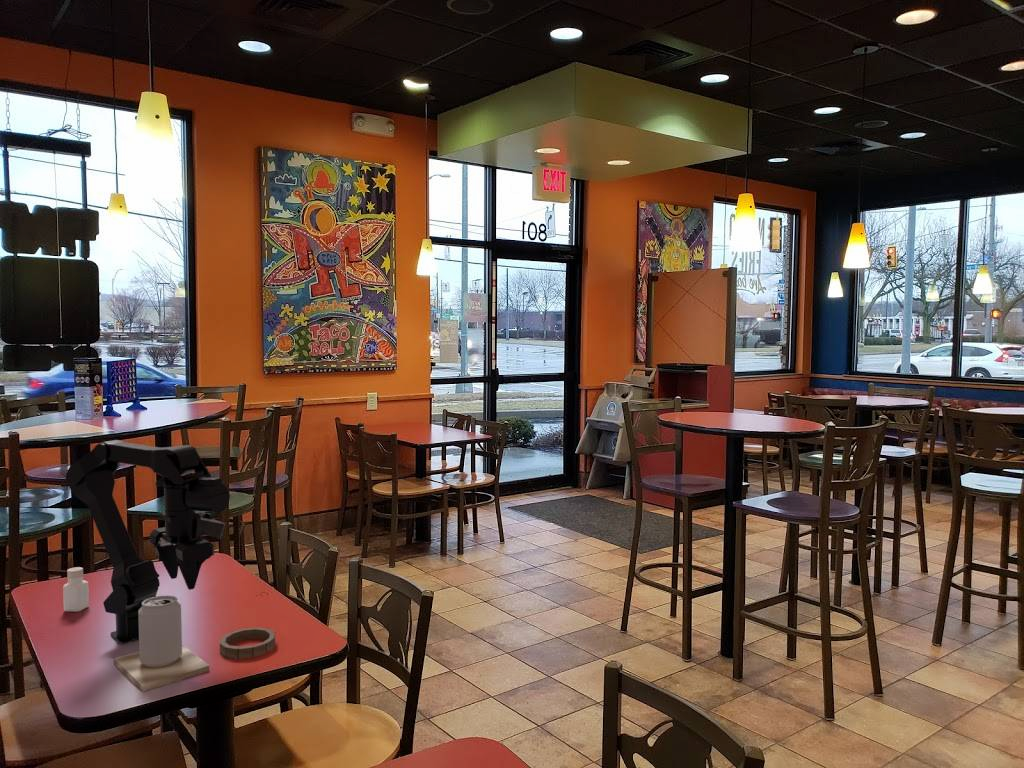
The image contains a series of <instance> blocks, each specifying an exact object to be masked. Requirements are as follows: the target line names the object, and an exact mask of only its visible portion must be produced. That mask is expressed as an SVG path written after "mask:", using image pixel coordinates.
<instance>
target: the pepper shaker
mask: <svg viewBox="0 0 1024 768" xmlns="http://www.w3.org/2000/svg"><path fill="white" fill-rule="evenodd" d="M66 573H67V574H66V575H67V577H66V578H67V583H65V584H64V585H63V586H62V593H63V594H62V596H63V597H62V598H63V599H62V600H63V610H64V612H75V613H77V612H78V613H79V612H81V611H83V610H85V609H86V608H89V606H90V594H89V593H90V592H89V590H90V589H89V582H88V581H87V580H84V568H83V567H80V566H76V567H71V568H68V569H67V570H66Z"/></svg>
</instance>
